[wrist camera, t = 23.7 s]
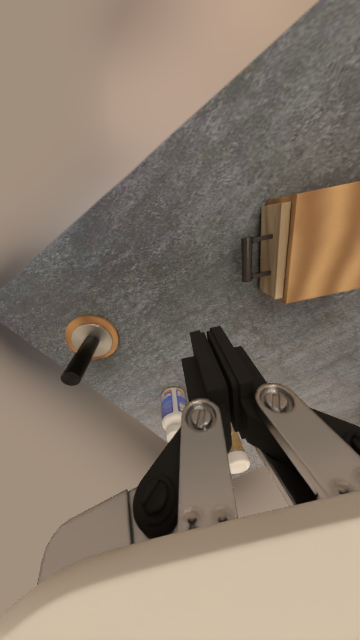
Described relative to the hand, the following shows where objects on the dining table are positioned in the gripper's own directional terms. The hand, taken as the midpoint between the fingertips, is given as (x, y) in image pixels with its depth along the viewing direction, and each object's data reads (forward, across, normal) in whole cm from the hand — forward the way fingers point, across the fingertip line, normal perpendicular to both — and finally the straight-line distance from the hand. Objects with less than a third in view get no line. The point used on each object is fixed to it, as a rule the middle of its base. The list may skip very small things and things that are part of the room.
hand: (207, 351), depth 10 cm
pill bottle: (+22, +6, +28) cm, 36 cm away
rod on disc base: (+21, +17, +9) cm, 28 cm away
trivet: (+22, +17, +9) cm, 29 cm away
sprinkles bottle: (+22, -4, +35) cm, 42 cm away
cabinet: (+22, -22, 0) cm, 31 cm away
